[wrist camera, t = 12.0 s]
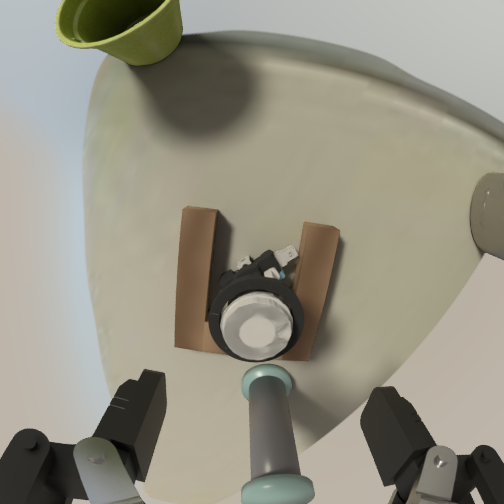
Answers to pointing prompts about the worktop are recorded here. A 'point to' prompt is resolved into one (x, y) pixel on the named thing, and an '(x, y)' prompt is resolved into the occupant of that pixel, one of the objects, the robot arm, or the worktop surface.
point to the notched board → (199, 274)
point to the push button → (257, 309)
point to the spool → (272, 440)
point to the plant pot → (122, 27)
